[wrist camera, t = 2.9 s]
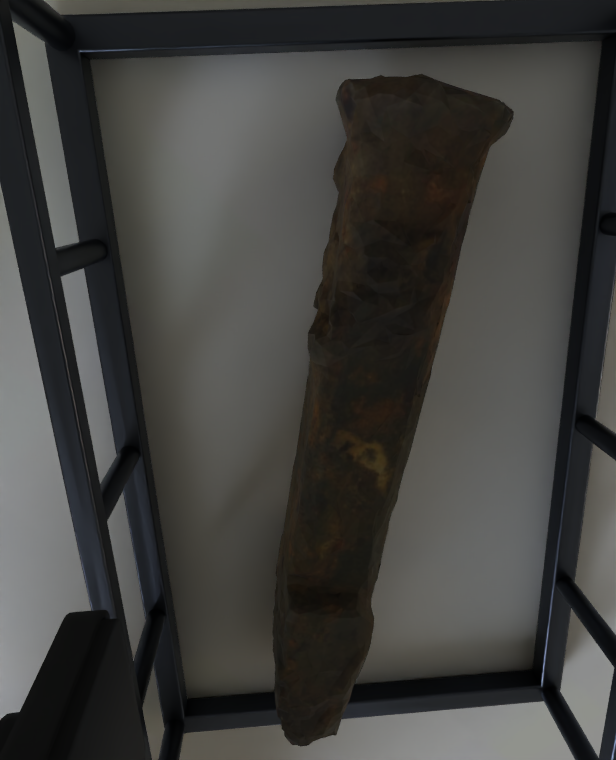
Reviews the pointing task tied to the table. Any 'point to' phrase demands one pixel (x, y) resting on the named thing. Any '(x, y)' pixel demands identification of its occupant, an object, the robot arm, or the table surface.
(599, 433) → the drying rack
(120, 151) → the table surface
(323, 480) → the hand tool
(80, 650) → the robot arm
